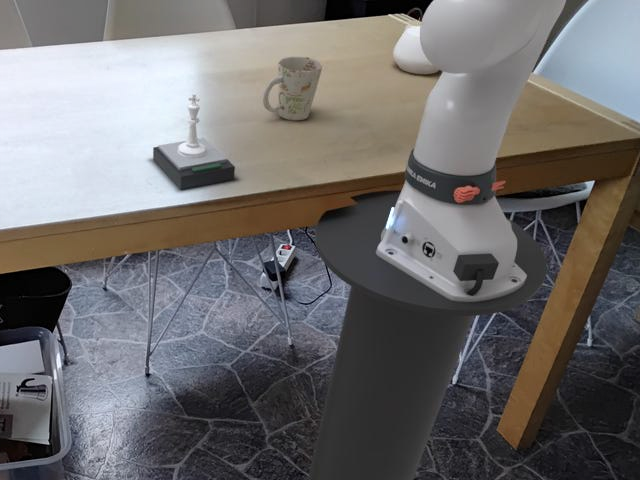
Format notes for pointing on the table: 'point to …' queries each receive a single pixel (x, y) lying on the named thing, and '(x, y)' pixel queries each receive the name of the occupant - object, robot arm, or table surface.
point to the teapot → (412, 53)
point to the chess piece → (192, 134)
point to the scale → (193, 165)
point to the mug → (294, 87)
